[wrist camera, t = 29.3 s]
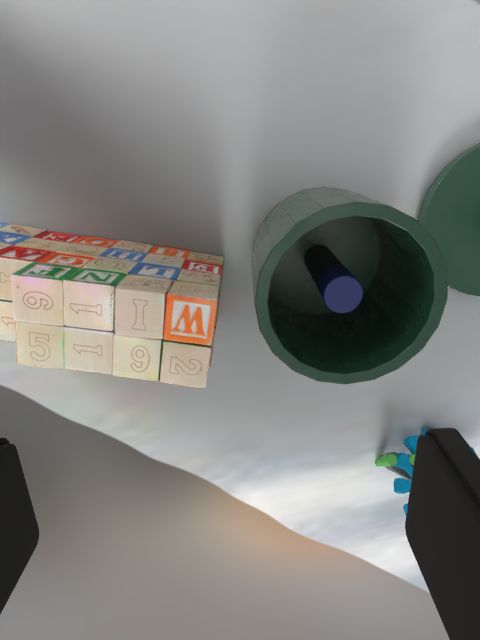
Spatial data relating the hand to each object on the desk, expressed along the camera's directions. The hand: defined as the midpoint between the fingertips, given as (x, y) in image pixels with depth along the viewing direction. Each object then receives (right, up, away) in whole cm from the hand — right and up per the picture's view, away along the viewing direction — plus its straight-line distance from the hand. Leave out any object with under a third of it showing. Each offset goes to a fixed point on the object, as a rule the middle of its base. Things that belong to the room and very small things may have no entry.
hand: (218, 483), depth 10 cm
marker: (+7, +9, +26) cm, 29 cm away
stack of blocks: (-12, +8, +28) cm, 31 cm away
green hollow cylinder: (+7, +9, +27) cm, 29 cm away
